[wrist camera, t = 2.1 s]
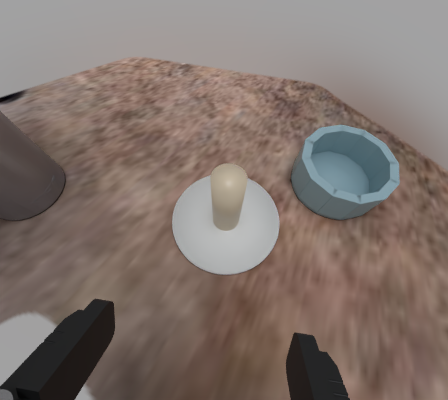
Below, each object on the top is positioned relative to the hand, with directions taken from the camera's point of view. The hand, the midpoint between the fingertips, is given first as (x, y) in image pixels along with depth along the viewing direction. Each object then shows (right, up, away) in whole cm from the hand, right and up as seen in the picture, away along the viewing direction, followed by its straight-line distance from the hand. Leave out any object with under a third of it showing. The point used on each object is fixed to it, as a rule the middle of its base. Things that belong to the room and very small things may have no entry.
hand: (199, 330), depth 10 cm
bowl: (+16, +8, +21) cm, 27 cm away
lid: (+1, +3, +18) cm, 19 cm away
